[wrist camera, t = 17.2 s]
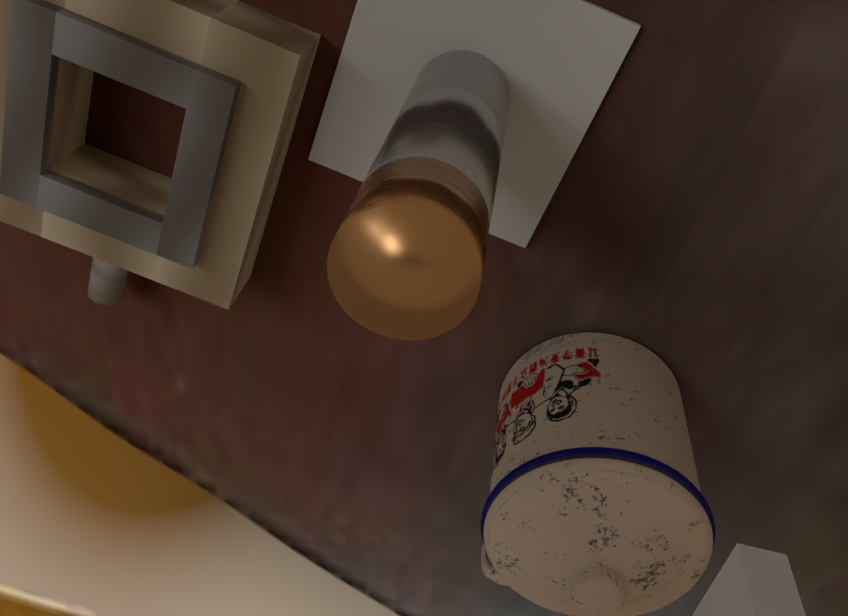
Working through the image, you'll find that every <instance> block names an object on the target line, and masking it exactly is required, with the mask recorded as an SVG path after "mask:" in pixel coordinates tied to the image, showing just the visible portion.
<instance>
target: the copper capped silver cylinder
mask: <svg viewBox="0 0 848 616" xmlns="http://www.w3.org/2000/svg"><path fill="white" fill-rule="evenodd" d="M509 105H510V93H509V87H508V84H507V81H506V79H505V77H504V75H503V73H502V72H501V70H500V69H499V68H498V66H497V65H496V64H495V63H494V62H492V61H491V60H490V59H488V58H487V57H485V56H484V55H481V54H479V53H476V52H473V51H468V50H453V51H449V52H445V53H443V54H440V55H438V56H437V57H435V58H433V59H432V60H431V61H430V62H429V63H428V64H427V65H426V66H425V67H424V68H423V69H422V71H421V72H420V74H419V76H418V78H417V80H416V81H415V83H414V85H413V87H412V89H411V91H410V93H409V95H408V97H407V99H406V101H405V103H404V105H403V106H402V108H401V110H400V112H399V114H398V116H397V118H396V120H395V122H394V124H393V126H392V128H391V130H390V131H389V133H388V135H387V137H386V139H385V141H384V143H383V145H382V147H381V149H380V151H379V153H378V155H377V156H376V158H375V160H374V162H373V164H372V166H371V168H370V170H369V172H368V174H367V176H366V178H365V179H364V181H363V183H362V185H361V187H360V189H359V191H358V193H357V195H356V197H355V199H354V201H353V203H352V204H351V206H350V208H349V210H348V212H347V214H346V216H345V218H344V220H343V222H342V224H341V226H340V228H339V229H338V231H337V233H336V235H335V237H334V239H333V241H332V243H331V246H330V249H329V252H328V257H327V276H328V280H329V284H330V287H331V290H332V292H333V294H334V296H335V298H336V300H337V301H338V303H339V304H340V306H341V307H342V308H343V310H344V311H345V312H346V313H347V314H348V315H349V316H350V317H351V318H352V319H354V320H355V321H356V322H357V323H359V324H360V325H362V326H363V327H365V328H366V329H368V330H370V331H372V332H374V333H377V334H379V335H382V336H385V337H388V338H393V339H398V340H423V339H429V338H433V337H436V336H439V335H442V334H444V333H446V332H448V331H450V330H451V329H453V328H455V327H456V326H457V325H459V324H460V323H461V322H462V321H463V320H464V319H465V318H466V317H467V316H468V314H469V313H470V312H471V310H472V309H473V307H474V305H475V303H476V300H477V298H478V295H479V290H480V284H481V278H482V272H483V266H484V260H485V253H486V247H487V241H488V235H489V229H490V223H491V216H492V210H493V204H494V198H495V192H496V185H497V179H498V173H499V167H500V161H501V154H502V148H503V142H504V136H505V130H506V123H507V117H508V111H509Z"/></svg>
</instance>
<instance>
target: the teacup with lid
mask: <svg viewBox="0 0 848 616" xmlns="http://www.w3.org/2000/svg"><path fill="white" fill-rule="evenodd" d="M481 533H482V539H483V547H482V553H481V566H482V570H483V573H484V574H485V575H486V577H488V578H489V579H490V580H492V581H494V582H495V583H497V584H500V585H503V586H510V587H511V588H512V589H513V590H515V591H516V592H517V593H519V594H520V595H521V596H523V597H525V598H526V599H528V600H529V601H531V602H533V603H535V604H537V605H539V606H541V607H544V608H546V609H549V610H552V611H554V612H558V613H561V614H565V615H569V616H637V615H642V614H645V613H649V612H652V611H655V610H657V609H660V608H662V607H664V606H666V605H668V604H670V603H672V602H674V601H675V600H677V599H678V598H680V597H681V596H683V595H684V594H685V593H686V592H688V591H689V590H690V589H691V588H692V587H693V586H694V585H695V584H696V583H697V581H698V580H699V579H700V577H701V576H702V574H703V573H704V571H705V569H706V567H707V566H708V563H709V561H710V558H711V554H712V550H713V546H714V542H715V524H714V520H713V515H712V513H711V510H710V507H709V505H708V503H707V502H706V500H705V498H704V497H703V495H702V494H701V490H700V485H699V480H698V475H697V471H696V466H695V461H694V456H693V451H692V447H691V442H690V437H689V432H688V428H687V423H686V418H685V413H684V408H683V404H682V399H681V394H680V390H679V387H678V384H677V381H676V379H675V377H674V375H673V374H672V372H671V371H670V369H669V368H668V367H667V365H666V364H665V363H664V362H663V361H662V360H661V359H660V358H659V357H658V356H657V355H655V354H654V353H653V352H652V351H650V350H649V349H647V348H646V347H644V346H642V345H640V344H638V343H636V342H634V341H632V340H629V339H627V338H624V337H620V336H616V335H612V334H606V333H595V332H583V333H573V334H567V335H563V336H559V337H555V338H553V339H550V340H547V341H545V342H543V343H541V344H539V345H537V346H535V347H534V348H532V349H531V350H529V351H528V352H526V353H525V354H524V355H523V356H522V357H521V358H520V359H519V360H518V361H517V362H516V363H515V364H514V365H513V366H512V368H511V369H510V370H509V372H508V374H507V375H506V377H505V380H504V382H503V384H502V388H501V391H500V397H499V406H498V416H497V427H496V437H495V447H494V457H493V467H492V477H491V487H490V495H489V497H488V499H487V501H486V503H485V505H484V509H483V512H482V518H481Z"/></svg>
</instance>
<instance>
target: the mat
mask: <svg viewBox="0 0 848 616" xmlns="http://www.w3.org/2000/svg"><path fill="white" fill-rule="evenodd" d="M640 27H641V26H640V24H639V23H636V22H634V21H632V20H630V19H627V18H625V17H623V16H620V15H618V14H616V13H614V12H611V11H609V10H607V9H604V8H602V7H600V6H598V5H595V4H593V3H591V2H588V1H586V0H357V4H356V7H355V10H354V13H353V17H352V20H351V23H350V26H349V29H348V33H347V36H346V39H345V42H344V45H343V49H342V52H341V55H340V58H339V62H338V65H337V68H336V71H335V74H334V78H333V81H332V84H331V87H330V90H329V94H328V97H327V100H326V103H325V107H324V110H323V113H322V116H321V119H320V123H319V126H318V129H317V132H316V135H315V139H314V142H313V145H312V148H311V152H310V155H309V158H308V160H311V161H313V162H315V163H318V164H320V165H323V166H325V167H328V168H330V169H333V170H335V171H337V172H340V173H342V174H345V175H347V176H350V177H352V178H355V179H357V180H359V181H362V182H363V181H364V179H365V178H366V176H367V174H368V172H369V170H370V168H371V166H372V164H373V162H374V160H375V158H376V156H377V155H378V153H379V151H380V149H381V147H382V145H383V143H384V141H385V139H386V137H387V135H388V133H389V131H390V130H391V128H392V126H393V124H394V122H395V120H396V118H397V116H398V114H399V112H400V110H401V108H402V106H403V105H404V103H405V101H406V99H407V97H408V95H409V93H410V91H411V89H412V87H413V85H414V83H415V81H416V80H417V78H418V76H419V74H420V72H421V71H422V69H423V68H424V67H425V66H426V65H427V64H428V63H429V62H430V61H431V60H432V59H433V58H435V57H437V56H438V55H440V54H443V53H445V52H449V51H453V50H468V51H473V52H476V53H479V54H481V55H484V56H485V57H487V58H488V59H490V60H491V61H492V62H494V63H495V64H496V65H497V66H498V68H499V69H500V70H501V72H502V73H503V75H504V77H505V79H506V81H507V84H508V87H509V93H510V105H509V111H508V117H507V123H506V130H505V136H504V142H503V148H502V154H501V161H500V167H499V173H498V179H497V185H496V192H495V198H494V204H493V210H492V216H491V223H490V229H489V234H491V235H494V236H496V237H499V238H501V239H504V240H506V241H509V242H511V243H513V244H516V245H518V246H521V247H523V248H526V246H527V244H528V242H529V240H530V238H531V236H532V234H533V232H534V231H535V229H536V227H537V225H538V223H539V221H540V219H541V217H542V215H543V213H544V211H545V209H546V208H547V206H548V204H549V202H550V200H551V198H552V196H553V194H554V192H555V190H556V188H557V186H558V185H559V183H560V181H561V179H562V177H563V175H564V173H565V171H566V169H567V167H568V165H569V163H570V161H571V160H572V158H573V156H574V154H575V152H576V150H577V148H578V146H579V144H580V142H581V140H582V138H583V137H584V135H585V133H586V131H587V129H588V127H589V125H590V123H591V121H592V119H593V117H594V115H595V114H596V112H597V110H598V108H599V106H600V104H601V102H602V100H603V98H604V96H605V94H606V92H607V91H608V89H609V87H610V85H611V83H612V81H613V79H614V77H615V75H616V73H617V71H618V69H619V68H620V66H621V64H622V62H623V60H624V58H625V56H626V54H627V52H628V50H629V48H630V46H631V45H632V43H633V41H634V39H635V37H636V35H637V33H638V31H639V29H640Z"/></svg>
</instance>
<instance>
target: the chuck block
mask: <svg viewBox="0 0 848 616" xmlns="http://www.w3.org/2000/svg"><path fill="white" fill-rule="evenodd" d="M320 37H321V35H320V34H318V33H315V32H313V31H311V30H308V29H306V28H303V27H301V26H299V25H296V24H294V23H292V22H289V21H287V20H284V19H282V18H280V17H277V16H275V15H273V14H270V13H268V12H266V11H263V10H261V9H258V8H256V7H254V6H251V5H249V4H247V3H244V2H242V1H240V0H0V221H2V222H5V223H7V224H10V225H12V226H15V227H17V228H20V229H23V230H25V231H28V232H30V233H33V234H35V235H38V236H40V237H43V238H46V239H48V240H51V241H53V242H56V243H58V244H61V245H64V246H66V247H69V248H71V249H74V250H76V251H79V252H81V253H84V254H87V255H89V256H92V257H93V261H92V267H91V274H90V280H89V287H88V296H89V298H90V299H91V300H92V301H94V302H96V303H98V304H101V305H116V304H118V303H120V302H121V301H122V300H123V299H124V294H125V288H126V283H127V277H128V272H129V271H130V272H133V273H135V274H138V275H140V276H143V277H146V278H148V279H151V280H153V281H156V282H158V283H161V284H163V285H166V286H169V287H171V288H174V289H176V290H179V291H181V292H184V293H187V294H189V295H192V296H194V297H197V298H199V299H202V300H204V301H207V302H210V303H212V304H215V305H217V306H220V307H222V308H225V309H228V310H229V308H230V307H231V305H232V304H233V302H234V301H235V299H236V298H237V296H238V295H239V293H240V292H241V290H242V289H243V287H244V286H245V284H246V283H247V281H248V279H249V278H250V276H251V273H252V270H253V267H254V263H255V260H256V256H257V253H258V249H259V246H260V243H261V239H262V236H263V232H264V229H265V225H266V222H267V219H268V215H269V212H270V208H271V205H272V202H273V198H274V195H275V191H276V188H277V184H278V181H279V178H280V174H281V171H282V167H283V164H284V161H285V157H286V154H287V150H288V147H289V143H290V140H291V137H292V133H293V130H294V126H295V123H296V120H297V116H298V113H299V109H300V106H301V102H302V99H303V96H304V92H305V89H306V85H307V82H308V78H309V75H310V72H311V68H312V65H313V61H314V58H315V55H316V51H317V48H318V44H319V41H320ZM94 72H97V73H99V74H102V75H104V76H107V77H109V78H112V79H114V80H116V81H119V82H121V83H124V84H126V85H129V86H131V87H133V88H136V89H138V90H141V91H143V92H146V93H148V94H151V95H153V96H155V97H158V98H160V99H163V100H165V101H168V102H170V103H173V104H175V105H177V106H180V107H182V108H185V109H186V112H185V117H184V122H183V127H182V132H181V136H180V141H179V146H178V151H177V156H176V161H175V166H174V170H173V175H172V178H170V177H168V176H165V175H163V174H160V173H158V172H155V171H153V170H150V169H148V168H145V167H143V166H140V165H138V164H135V163H133V162H130V161H128V160H125V159H123V158H120V157H118V156H115V155H113V154H110V153H108V152H105V151H103V150H100V149H98V148H95V147H93V146H90V145H88V144H85V137H86V129H87V122H88V114H89V107H90V99H91V91H92V84H93V76H94Z"/></svg>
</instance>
